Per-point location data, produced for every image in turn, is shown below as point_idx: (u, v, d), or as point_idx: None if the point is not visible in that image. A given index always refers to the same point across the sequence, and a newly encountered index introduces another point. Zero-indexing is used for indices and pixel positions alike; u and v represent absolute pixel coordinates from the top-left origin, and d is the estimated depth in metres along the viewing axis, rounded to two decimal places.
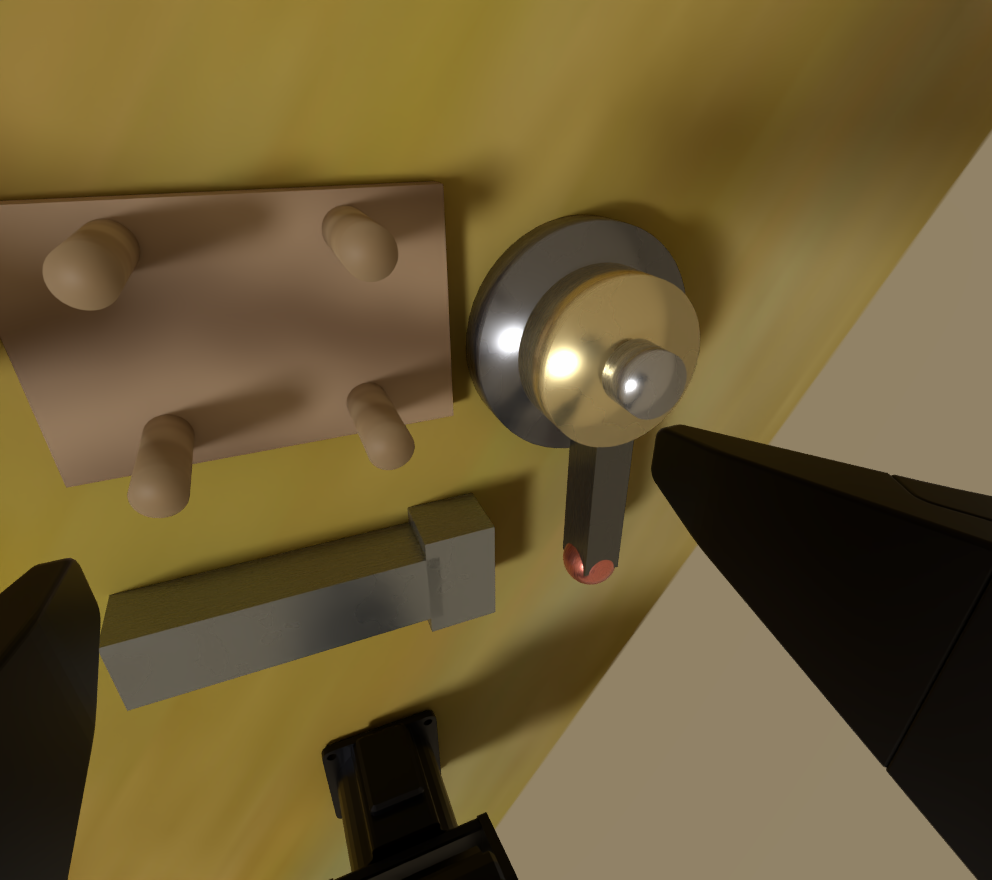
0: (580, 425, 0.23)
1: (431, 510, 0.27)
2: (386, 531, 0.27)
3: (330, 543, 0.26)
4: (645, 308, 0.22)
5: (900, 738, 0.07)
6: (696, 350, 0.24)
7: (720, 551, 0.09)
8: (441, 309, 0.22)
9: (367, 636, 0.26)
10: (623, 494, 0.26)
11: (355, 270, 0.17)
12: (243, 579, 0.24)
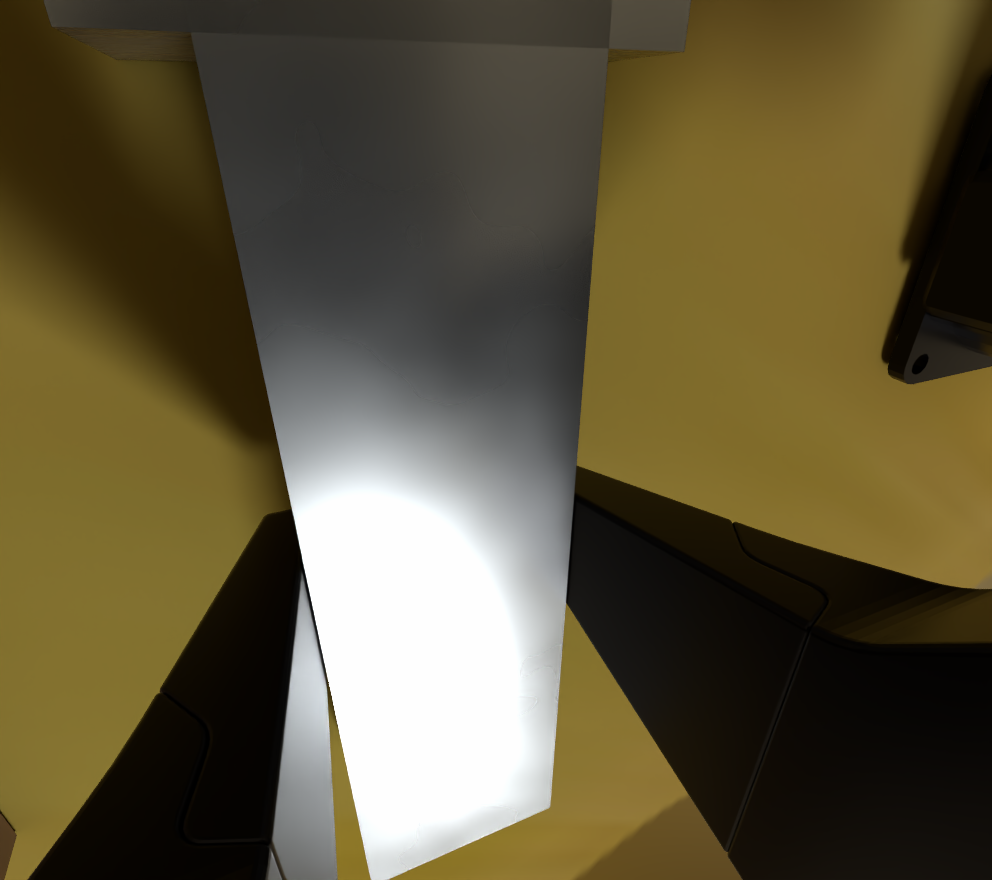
0: None
1: None
2: None
3: None
4: None
5: (736, 822, 0.07)
6: None
7: (574, 597, 0.09)
8: None
9: (579, 352, 0.07)
10: None
11: None
12: None
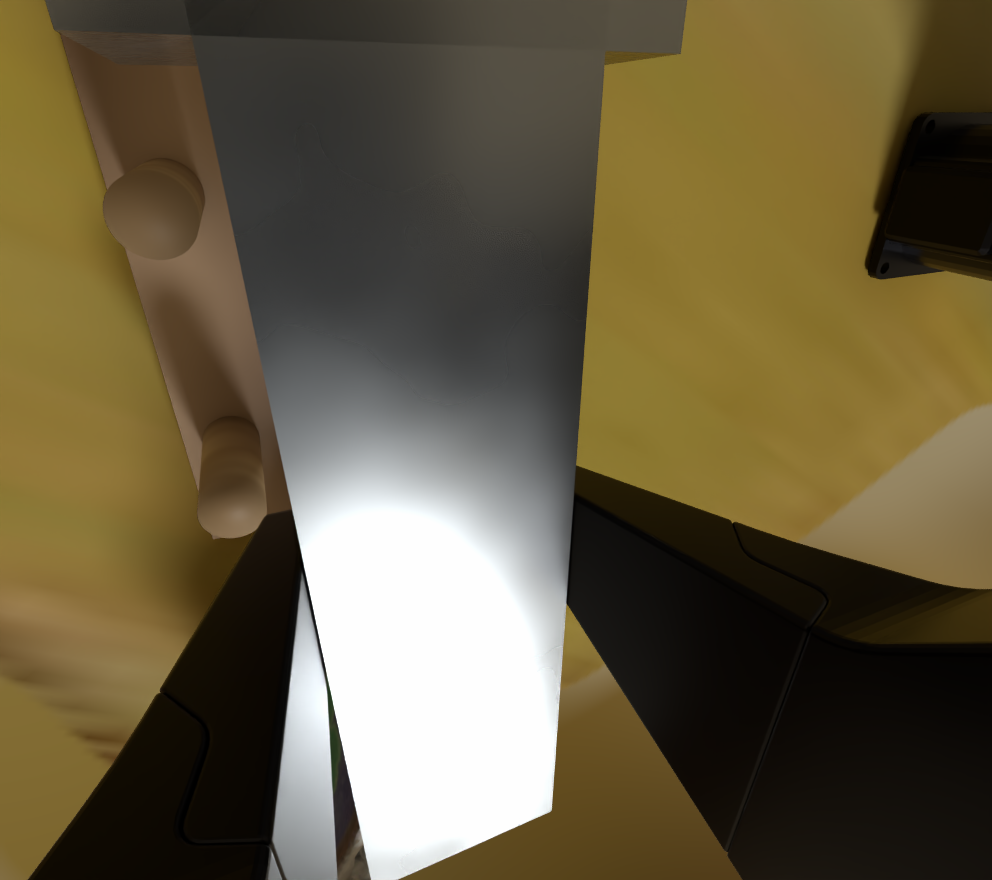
0: None
1: None
2: None
3: None
4: None
5: (736, 822, 0.07)
6: None
7: (574, 597, 0.09)
8: None
9: (578, 352, 0.07)
10: None
11: (184, 241, 0.12)
12: None
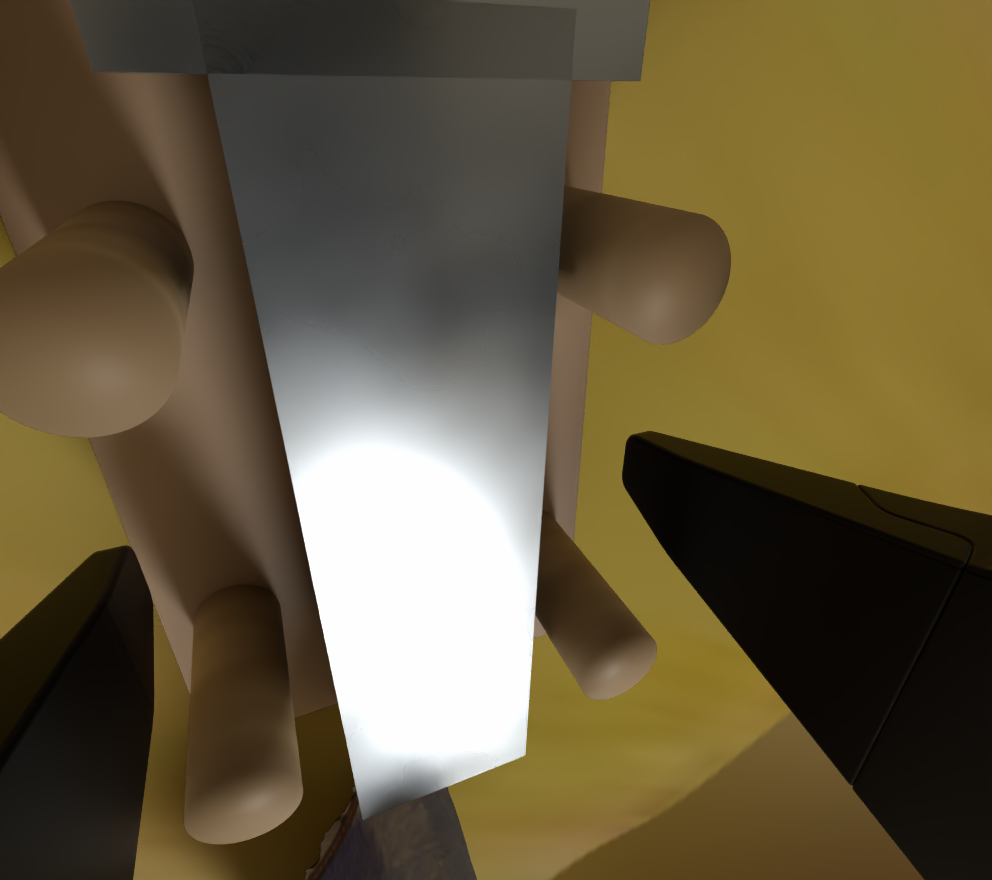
0: None
1: None
2: None
3: None
4: None
5: (865, 756, 0.07)
6: None
7: (688, 561, 0.09)
8: None
9: (548, 344, 0.08)
10: None
11: (146, 397, 0.05)
12: None
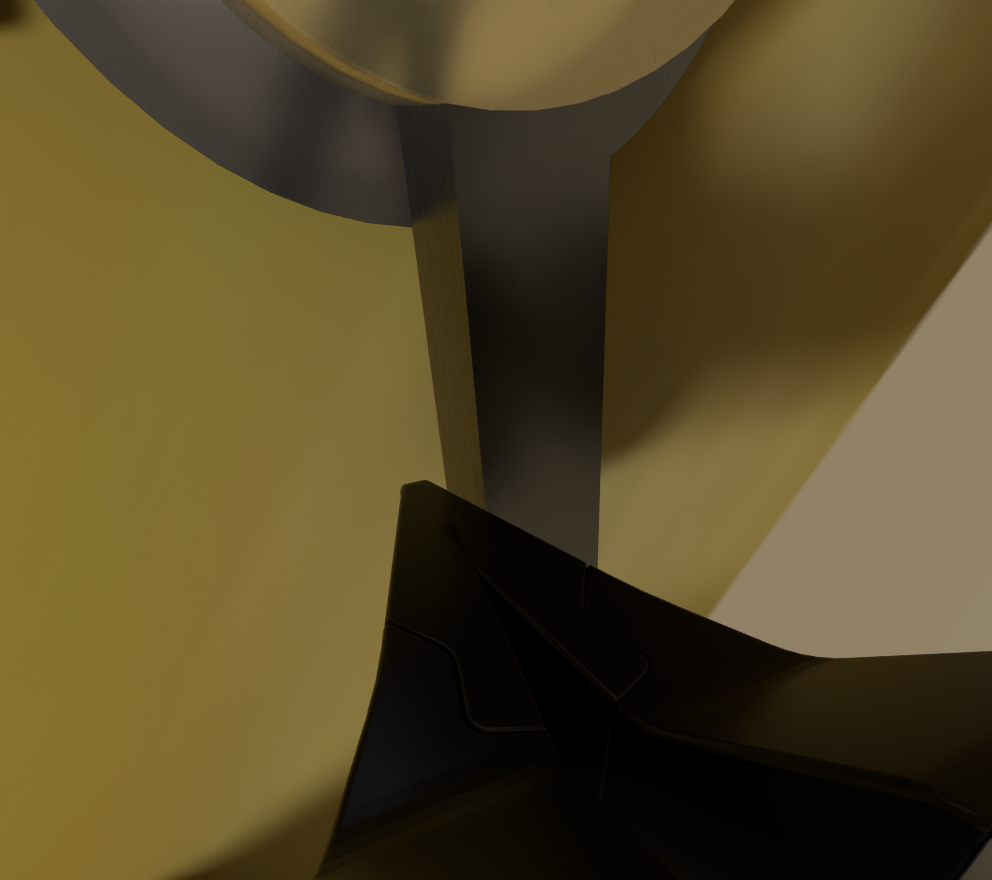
0: None
1: None
2: None
3: None
4: None
5: None
6: None
7: None
8: None
9: None
10: (592, 348, 0.07)
11: None
12: None
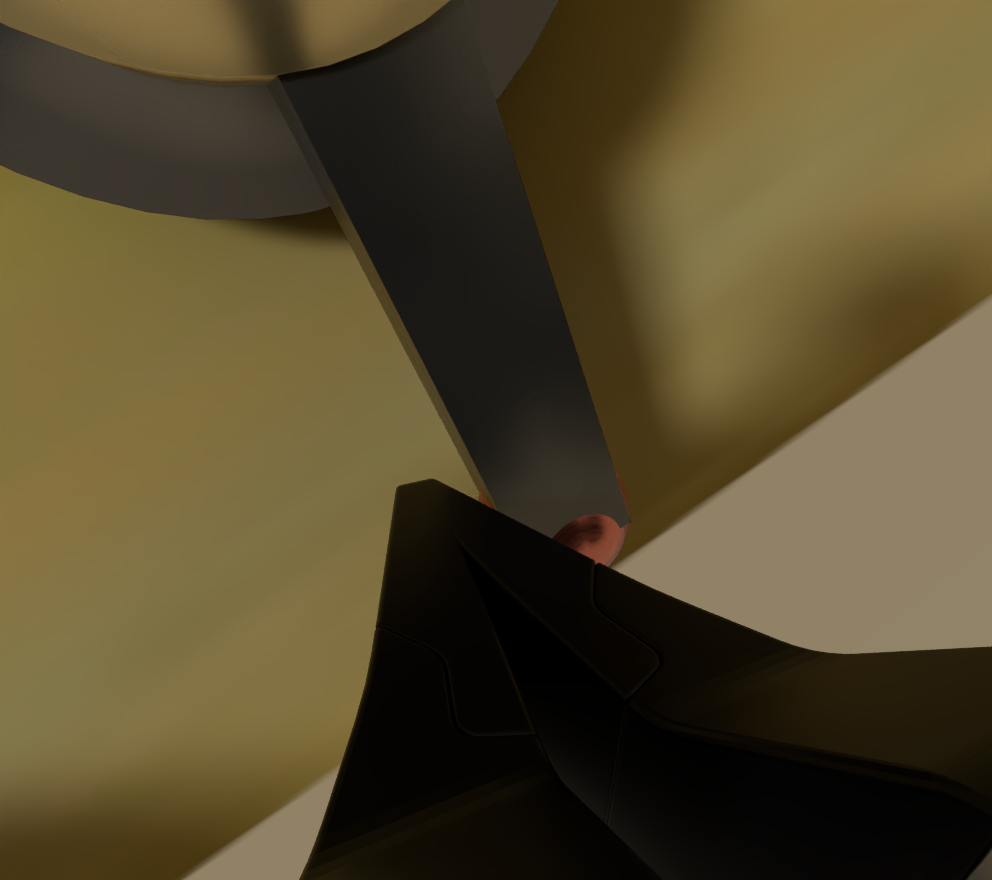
0: None
1: None
2: None
3: None
4: None
5: None
6: None
7: None
8: None
9: None
10: (541, 285, 0.07)
11: None
12: None
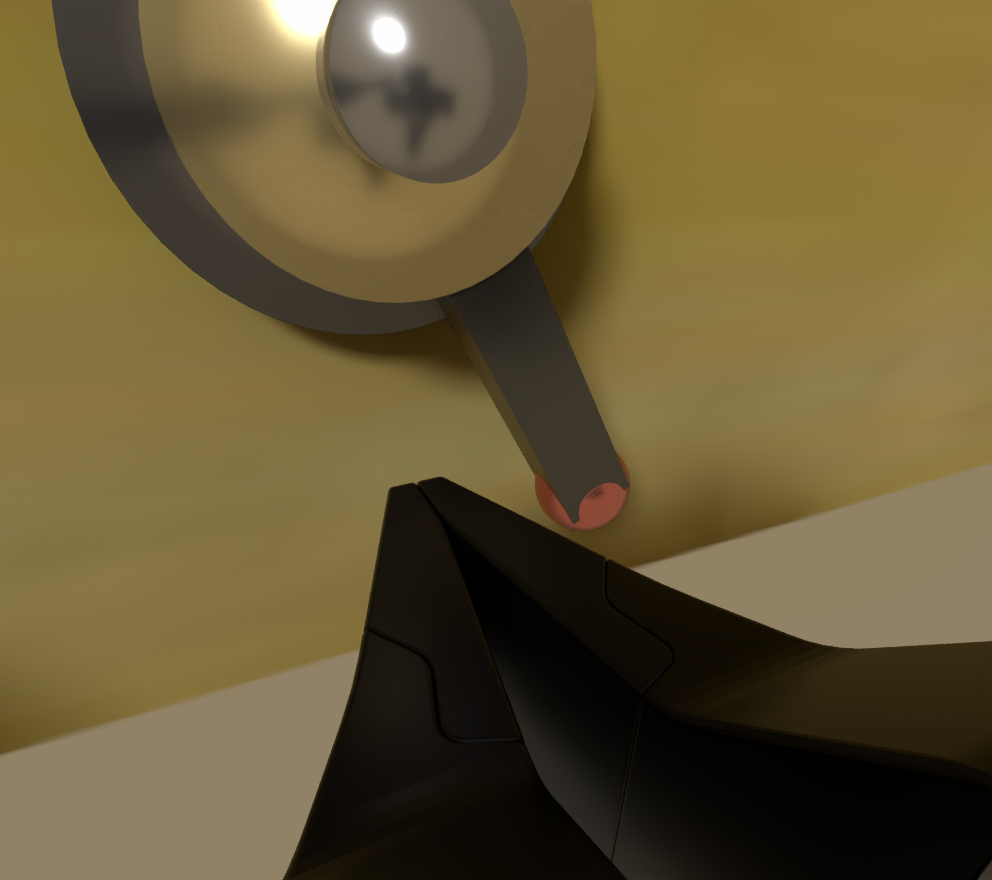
0: (373, 264, 0.10)
1: None
2: None
3: None
4: None
5: None
6: None
7: None
8: None
9: None
10: (570, 363, 0.13)
11: None
12: None
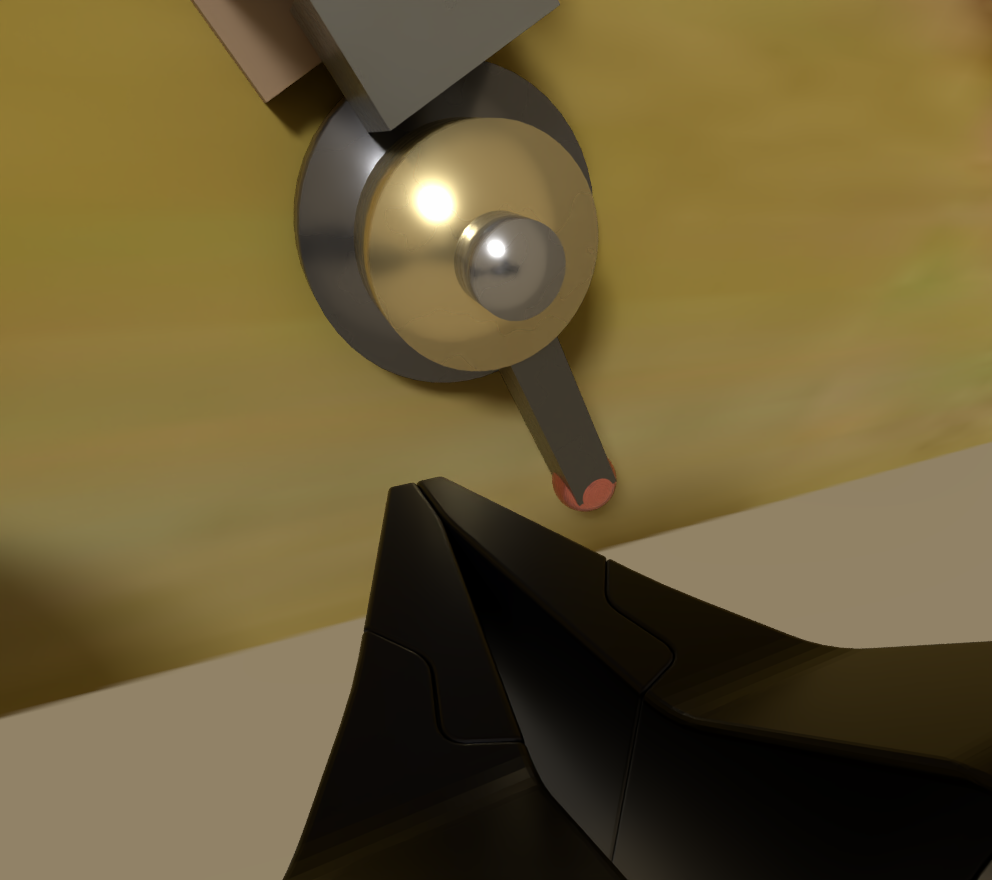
0: (470, 350, 0.18)
1: None
2: None
3: None
4: (476, 168, 0.15)
5: None
6: (585, 191, 0.17)
7: None
8: None
9: None
10: (579, 403, 0.21)
11: None
12: None
